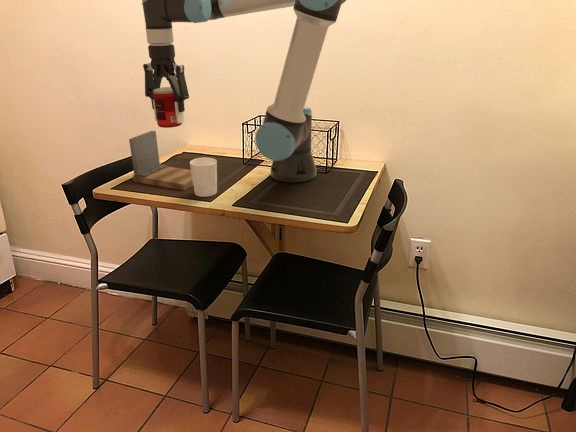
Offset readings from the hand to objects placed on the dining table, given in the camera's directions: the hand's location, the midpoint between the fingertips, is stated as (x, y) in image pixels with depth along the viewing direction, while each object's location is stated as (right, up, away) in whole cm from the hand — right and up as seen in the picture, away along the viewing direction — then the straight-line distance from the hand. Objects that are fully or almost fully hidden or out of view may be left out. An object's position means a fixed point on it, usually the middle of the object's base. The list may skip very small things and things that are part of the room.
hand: (169, 121), depth 155 cm
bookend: (-8, -15, +9) cm, 19 cm away
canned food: (0, -1, +1) cm, 1 cm away
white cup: (+12, -23, -4) cm, 26 cm away
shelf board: (-1, -18, +7) cm, 19 cm away
